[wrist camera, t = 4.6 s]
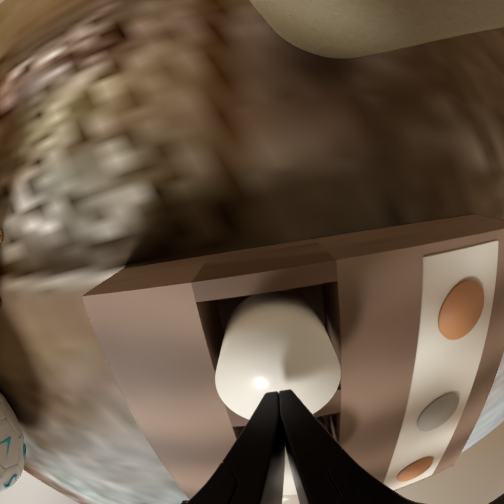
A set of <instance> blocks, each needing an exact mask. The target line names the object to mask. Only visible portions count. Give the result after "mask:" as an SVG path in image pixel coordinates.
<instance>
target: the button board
mask: <svg viewBox="0 0 504 504" xmlns="http://www.w3.org/2000/svg"><path fill="white" fill-rule="evenodd" d="M280 290H281V291H288V292H291V293H294V294H297V295H299V296H301V297H303V298H304V299H306V300H307V301H308V302H310V303H311V304H312V305H313V307H314V308H315V309H316V311H317V312H318V314H319V316H320V318H321V321H322V323H323V325H324V328H325V330H326V332H327V334H328V337H329V339H330V341H331V344H332V346H333V348H334V351H335V353H336V355H337V358H338V360H339V364H340V369H341V377H340V382H339V386H338V388H337V390H336V392H335V394H334V395H333V397H332V398H331V399H330V401H329V402H328V403H327V404H326V405H325V406H324V407H322V408H321V409H320V410H318V411H317V412H315V413H314V414H313V415H314V417H318V416H322V417H323V418H324V420H325V422H326V426H327V430H328V432H329V434H330V435H331V436H332V437H333V438H334V439H335V440H336V441H337V442H338V444H339V445H340V446H341V447H342V449H344V450H345V451H346V452H347V453H348V454H349V455H350V456H351V457H352V458H353V459H354V460H355V461H356V462H357V463H358V464H359V465H360V466H361V467H362V468H364V469H365V470H366V471H367V472H369V473H370V474H371V475H372V476H374V477H375V478H376V479H378V480H379V481H381V482H382V483H383V484H385V485H386V486H388V487H389V488H391V489H392V490H393V491H395V490H398V489H401V488H403V487H406V486H409V485H412V484H414V483H417V482H419V481H421V480H424V479H426V478H428V477H430V476H433V475H435V474H437V473H439V472H441V471H443V470H445V469H448V468H449V467H451V466H453V465H454V463H455V461H456V460H457V458H458V456H459V455H460V453H461V451H462V449H463V448H464V446H465V444H466V442H467V440H468V438H469V436H470V434H471V433H472V431H473V429H474V426H475V424H476V422H477V420H478V418H479V416H480V414H481V411H482V409H483V407H484V405H485V402H486V400H487V397H488V395H489V392H490V390H491V387H492V385H493V382H494V379H495V376H496V373H497V370H498V367H499V364H500V361H501V358H502V355H503V351H504V220H500V219H496V218H491V217H486V216H481V215H476V214H473V215H466V216H459V217H453V218H446V219H439V220H432V221H426V222H419V223H412V224H406V225H399V226H393V227H386V228H380V229H373V230H366V231H360V232H353V233H347V234H340V235H334V236H327V237H321V238H314V239H308V240H301V241H295V242H289V243H282V244H276V245H269V246H263V247H257V248H250V249H244V250H237V251H231V252H225V253H218V254H212V255H206V256H200V257H193V258H187V259H181V260H174V261H168V262H162V263H156V264H149V265H143V266H137V267H131V268H125V269H122V270H121V271H119V272H118V273H116V274H114V275H113V276H111V277H110V278H108V279H107V280H105V281H104V282H102V283H101V284H99V285H98V286H96V287H95V288H93V289H92V290H90V291H89V292H87V293H86V294H84V295H83V296H82V299H83V302H84V305H85V308H86V311H87V314H88V317H89V319H90V322H91V325H92V328H93V330H94V333H95V336H96V338H97V341H98V343H99V346H100V348H101V350H102V353H103V355H104V358H105V360H106V362H107V364H108V367H109V369H110V371H111V373H112V375H113V377H114V380H115V382H116V384H117V386H118V388H119V390H120V392H121V394H122V396H123V398H124V400H125V402H126V404H127V405H128V407H129V409H130V411H131V413H132V415H133V416H134V418H135V420H136V422H137V423H138V425H139V427H140V429H141V430H142V432H143V434H144V435H145V437H146V439H147V440H148V442H149V443H150V445H151V447H152V448H153V450H154V451H155V453H156V454H157V456H158V457H159V459H160V460H161V462H162V463H163V465H164V466H165V468H166V469H167V470H168V472H169V473H170V475H171V476H172V477H173V479H174V480H175V481H176V483H177V484H178V485H179V487H180V488H181V489H182V491H183V492H184V493H185V494H186V496H187V497H188V498H189V499H191V498H192V497H193V496H194V495H195V494H196V493H197V492H198V491H199V490H200V489H201V488H202V487H203V486H204V485H205V484H206V482H207V481H208V480H209V479H210V477H211V476H212V475H213V473H214V472H215V471H216V469H217V468H218V466H219V465H220V463H222V461H223V459H224V458H225V456H226V455H227V453H228V452H229V450H230V449H231V447H232V446H233V444H234V443H235V441H236V440H237V438H238V437H239V435H240V433H241V432H242V430H243V429H244V427H245V426H246V424H247V422H248V421H249V419H246V418H244V417H242V416H240V415H238V414H236V413H235V412H233V411H232V410H231V409H230V408H228V407H227V406H226V405H225V403H224V402H223V401H222V399H221V398H220V396H219V394H218V392H217V389H216V384H215V374H216V369H217V364H218V360H219V356H220V351H221V347H222V343H223V338H224V334H225V330H226V326H227V322H228V319H229V317H230V315H231V313H232V312H233V310H234V309H235V308H236V307H237V306H238V305H239V304H240V303H241V302H242V301H244V300H245V299H247V298H248V297H250V296H252V295H254V294H261V293H267V292H274V291H280Z"/></svg>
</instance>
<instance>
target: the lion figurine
mask: <svg viewBox="0 0 504 504" xmlns="http://www.w3.org/2000/svg"><path fill="white" fill-rule="evenodd" d="M2 240H3V234H2V231H1V229H0V243H1V242H2ZM0 307H1V301H0Z"/></svg>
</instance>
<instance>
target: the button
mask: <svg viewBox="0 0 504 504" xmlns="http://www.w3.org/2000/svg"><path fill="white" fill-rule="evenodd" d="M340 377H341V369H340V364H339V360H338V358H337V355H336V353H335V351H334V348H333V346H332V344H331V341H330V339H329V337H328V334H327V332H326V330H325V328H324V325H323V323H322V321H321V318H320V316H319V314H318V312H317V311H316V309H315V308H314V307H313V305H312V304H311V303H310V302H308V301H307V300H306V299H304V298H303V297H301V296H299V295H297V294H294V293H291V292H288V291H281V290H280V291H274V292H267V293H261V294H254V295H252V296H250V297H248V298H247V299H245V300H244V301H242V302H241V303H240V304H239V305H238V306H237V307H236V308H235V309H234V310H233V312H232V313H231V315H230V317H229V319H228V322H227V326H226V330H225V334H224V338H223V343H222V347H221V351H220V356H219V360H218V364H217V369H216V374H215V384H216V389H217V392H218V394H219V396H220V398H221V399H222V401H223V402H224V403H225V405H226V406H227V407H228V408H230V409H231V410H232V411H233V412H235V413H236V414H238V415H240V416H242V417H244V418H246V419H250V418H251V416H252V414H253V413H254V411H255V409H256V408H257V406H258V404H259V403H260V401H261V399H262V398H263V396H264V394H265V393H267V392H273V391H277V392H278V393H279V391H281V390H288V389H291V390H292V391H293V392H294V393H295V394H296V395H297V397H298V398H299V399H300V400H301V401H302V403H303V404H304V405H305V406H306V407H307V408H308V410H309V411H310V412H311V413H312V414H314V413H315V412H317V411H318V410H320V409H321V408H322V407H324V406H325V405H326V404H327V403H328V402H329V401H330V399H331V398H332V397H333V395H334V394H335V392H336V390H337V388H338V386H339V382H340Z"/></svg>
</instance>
